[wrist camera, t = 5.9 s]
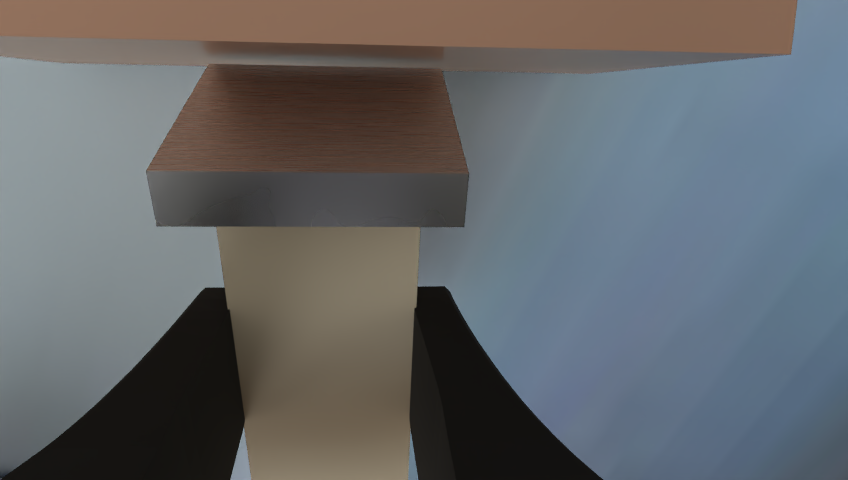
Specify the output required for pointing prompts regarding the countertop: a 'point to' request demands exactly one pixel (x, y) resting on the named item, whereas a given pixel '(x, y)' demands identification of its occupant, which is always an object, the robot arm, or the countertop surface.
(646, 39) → the tile
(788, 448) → the countertop surface
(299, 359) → the capped square post
